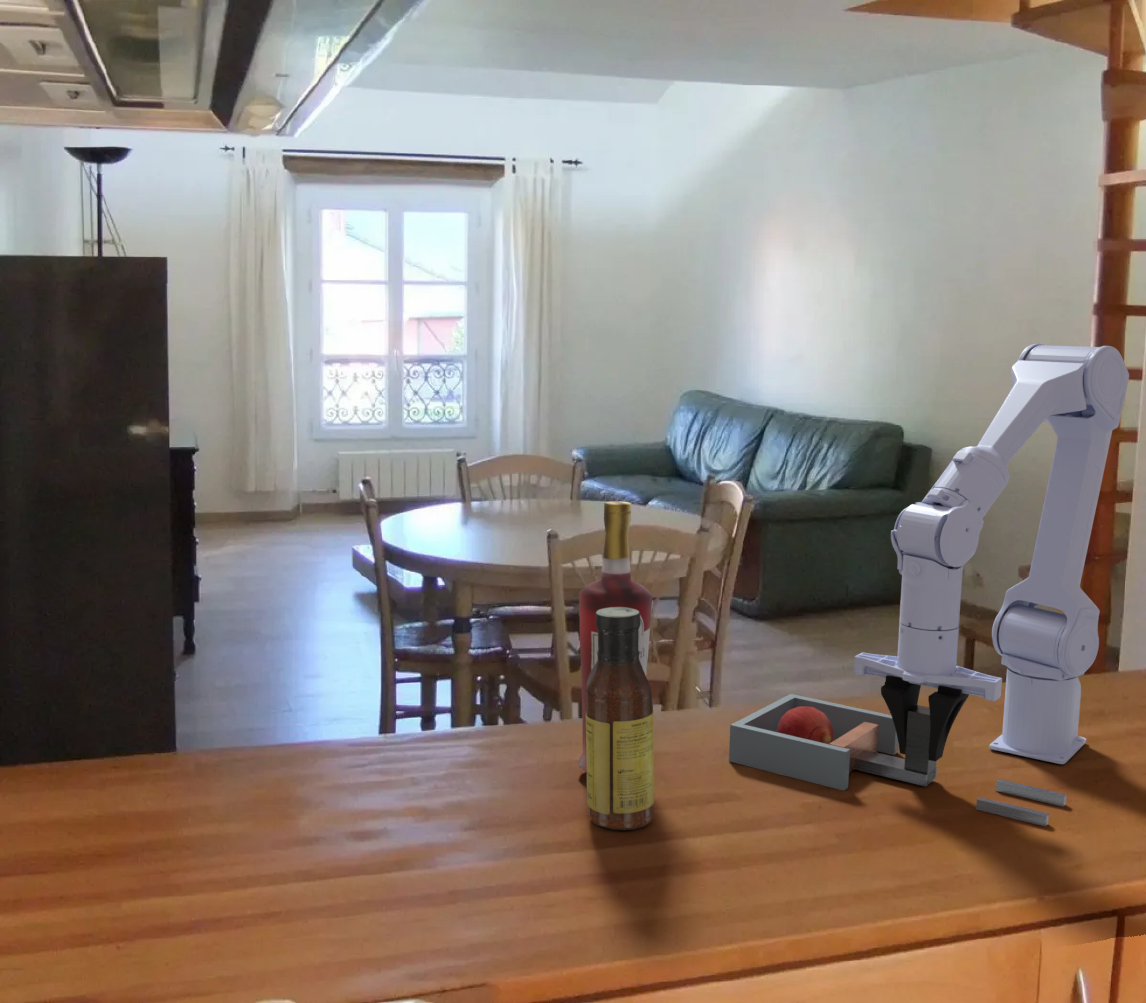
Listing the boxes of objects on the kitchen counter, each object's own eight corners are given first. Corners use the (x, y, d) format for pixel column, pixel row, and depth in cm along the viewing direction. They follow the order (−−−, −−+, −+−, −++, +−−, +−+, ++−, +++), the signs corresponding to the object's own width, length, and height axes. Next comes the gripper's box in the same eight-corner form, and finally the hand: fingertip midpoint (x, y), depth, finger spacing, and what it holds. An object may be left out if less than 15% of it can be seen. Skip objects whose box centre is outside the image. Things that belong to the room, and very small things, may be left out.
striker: (863, 750, 134) (866, 685, 133) (946, 769, 128) (951, 701, 127) (827, 773, 127) (831, 705, 126) (914, 795, 121) (918, 723, 120)
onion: (798, 724, 126) (753, 712, 133) (811, 777, 127) (766, 762, 134) (842, 704, 128) (795, 693, 135) (854, 755, 129) (807, 742, 136)
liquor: (631, 759, 131) (638, 497, 127) (658, 784, 124) (666, 507, 120) (566, 765, 128) (570, 499, 124) (589, 791, 122) (595, 510, 117)
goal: (788, 727, 142) (790, 693, 141) (897, 752, 134) (899, 717, 134) (728, 761, 131) (730, 724, 130) (843, 790, 123) (845, 752, 122)
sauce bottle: (661, 812, 117) (667, 607, 114) (643, 838, 111) (648, 622, 108) (595, 802, 119) (599, 600, 116) (574, 827, 113) (578, 615, 110)
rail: (998, 788, 124) (999, 779, 124) (1065, 804, 120) (1066, 794, 120) (976, 809, 119) (976, 799, 119) (1045, 826, 115) (1046, 816, 115)
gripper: (844, 619, 124) (837, 749, 126) (989, 644, 116) (979, 783, 118) (872, 607, 130) (865, 731, 132) (1012, 629, 121) (1002, 762, 123)
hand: (920, 754), depth 125 cm, fingers closed on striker, 2 cm apart
